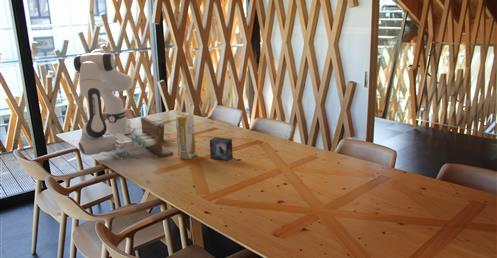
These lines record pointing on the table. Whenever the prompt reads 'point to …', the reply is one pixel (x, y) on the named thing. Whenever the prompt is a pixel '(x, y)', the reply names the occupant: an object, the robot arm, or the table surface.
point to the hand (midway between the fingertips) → (135, 138)
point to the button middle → (139, 139)
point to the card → (124, 154)
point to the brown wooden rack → (154, 132)
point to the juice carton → (185, 136)
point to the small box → (221, 148)
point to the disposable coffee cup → (161, 128)
